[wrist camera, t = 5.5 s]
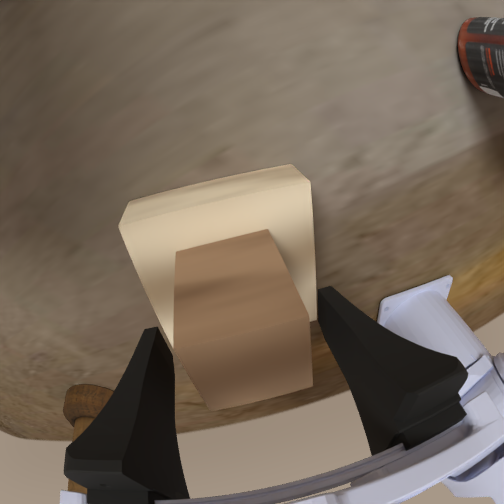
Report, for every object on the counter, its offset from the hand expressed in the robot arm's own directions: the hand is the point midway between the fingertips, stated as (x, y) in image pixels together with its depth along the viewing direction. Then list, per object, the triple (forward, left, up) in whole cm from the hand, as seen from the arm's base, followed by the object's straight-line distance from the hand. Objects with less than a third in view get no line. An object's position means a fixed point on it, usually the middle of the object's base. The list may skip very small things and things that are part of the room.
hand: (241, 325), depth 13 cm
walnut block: (0, 0, -3) cm, 3 cm away
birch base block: (0, 0, -6) cm, 6 cm away
